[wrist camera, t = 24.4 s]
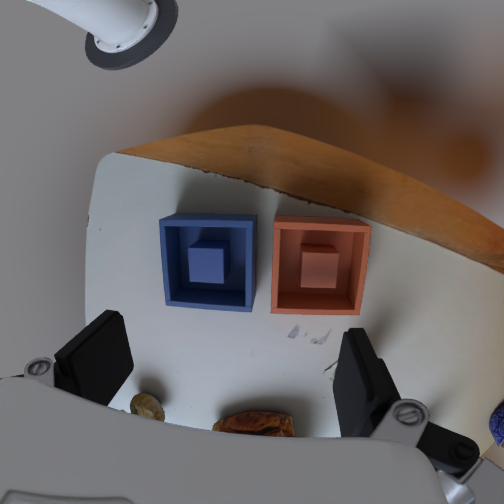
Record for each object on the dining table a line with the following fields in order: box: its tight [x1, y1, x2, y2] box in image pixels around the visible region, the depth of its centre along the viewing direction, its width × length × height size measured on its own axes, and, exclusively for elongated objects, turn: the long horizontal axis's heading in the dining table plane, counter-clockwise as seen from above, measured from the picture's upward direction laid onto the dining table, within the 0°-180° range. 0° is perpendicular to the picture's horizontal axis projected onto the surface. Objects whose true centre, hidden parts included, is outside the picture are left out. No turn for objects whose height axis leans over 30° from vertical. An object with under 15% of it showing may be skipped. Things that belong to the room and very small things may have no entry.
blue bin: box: [159, 214, 257, 312], centre depth 37 cm, size 12×12×6 cm
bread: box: [212, 411, 296, 438], centre depth 44 cm, size 20×18×10 cm
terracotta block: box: [298, 243, 339, 288], centre depth 36 cm, size 4×4×4 cm
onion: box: [121, 393, 165, 422], centre depth 45 cm, size 8×8×8 cm
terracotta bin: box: [271, 215, 371, 315], centre depth 36 cm, size 12×12×6 cm
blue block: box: [188, 240, 230, 284], centre depth 37 cm, size 4×4×4 cm
